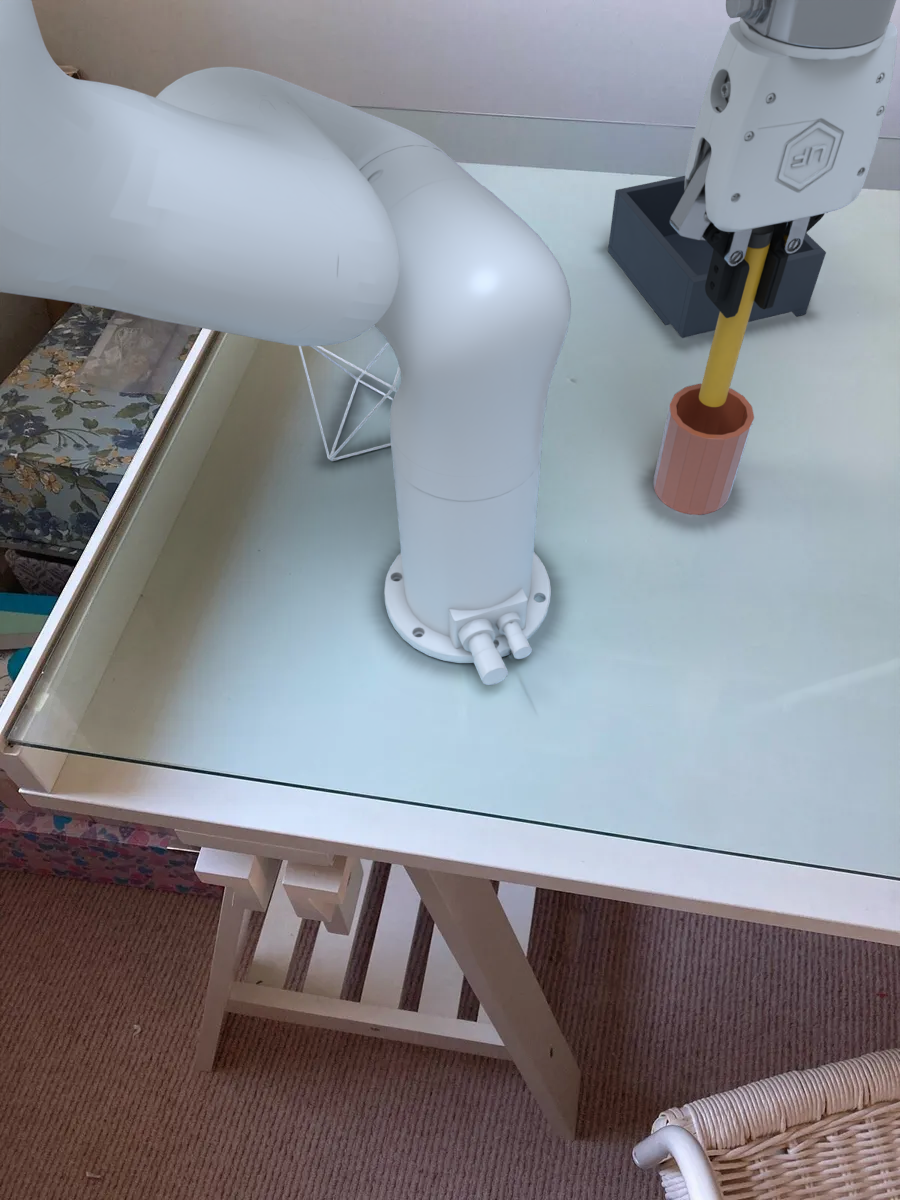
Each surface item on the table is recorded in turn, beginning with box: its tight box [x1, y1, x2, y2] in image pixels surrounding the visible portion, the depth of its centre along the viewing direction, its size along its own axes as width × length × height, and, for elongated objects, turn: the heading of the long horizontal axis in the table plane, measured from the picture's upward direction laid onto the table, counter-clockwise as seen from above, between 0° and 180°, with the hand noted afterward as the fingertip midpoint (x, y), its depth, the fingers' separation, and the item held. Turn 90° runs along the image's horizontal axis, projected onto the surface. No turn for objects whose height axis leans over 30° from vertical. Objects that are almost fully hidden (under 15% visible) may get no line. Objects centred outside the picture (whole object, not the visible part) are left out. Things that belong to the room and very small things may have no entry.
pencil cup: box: [653, 383, 755, 516], centre depth 76 cm, size 6×6×9 cm
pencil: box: [699, 225, 774, 407], centre depth 66 cm, size 2×2×14 cm
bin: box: [607, 175, 827, 339], centre depth 95 cm, size 17×14×7 cm
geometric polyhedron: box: [297, 341, 401, 462], centre depth 82 cm, size 12×11×9 cm
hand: (738, 299), depth 64 cm, fingers closed on pencil, 2 cm apart
